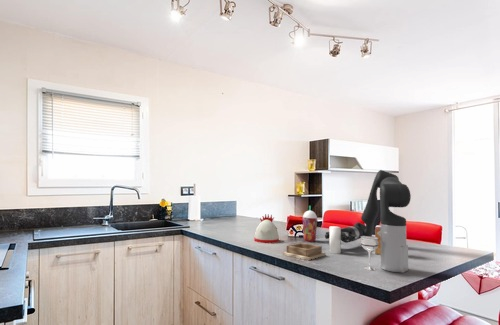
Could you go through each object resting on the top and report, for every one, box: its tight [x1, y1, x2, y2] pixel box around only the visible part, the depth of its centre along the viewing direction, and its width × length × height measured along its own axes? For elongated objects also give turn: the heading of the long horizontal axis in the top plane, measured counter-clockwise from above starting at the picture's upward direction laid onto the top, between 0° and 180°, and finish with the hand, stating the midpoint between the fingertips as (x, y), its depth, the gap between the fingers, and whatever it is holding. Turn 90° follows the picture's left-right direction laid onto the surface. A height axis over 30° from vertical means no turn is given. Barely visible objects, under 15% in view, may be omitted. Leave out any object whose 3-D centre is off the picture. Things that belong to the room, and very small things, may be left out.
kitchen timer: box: [253, 213, 280, 244], centre depth 176 cm, size 14×14×15 cm
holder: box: [282, 242, 327, 261], centre depth 142 cm, size 14×14×4 cm
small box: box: [374, 224, 381, 256], centre depth 148 cm, size 8×6×13 cm
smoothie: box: [302, 205, 318, 243], centre depth 177 cm, size 8×8×20 cm
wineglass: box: [360, 235, 379, 271], centre depth 122 cm, size 7×7×12 cm
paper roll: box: [328, 225, 342, 255], centre depth 149 cm, size 5×5×12 cm
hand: (334, 237), depth 148 cm, fingers open, 8 cm apart
